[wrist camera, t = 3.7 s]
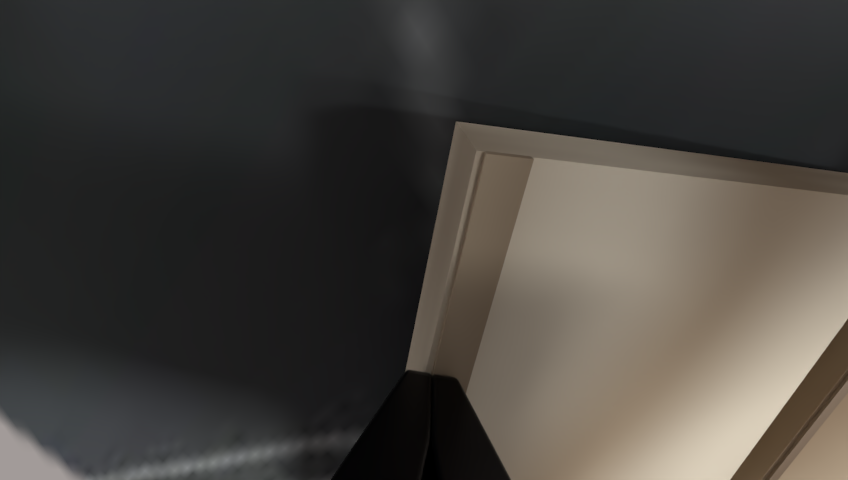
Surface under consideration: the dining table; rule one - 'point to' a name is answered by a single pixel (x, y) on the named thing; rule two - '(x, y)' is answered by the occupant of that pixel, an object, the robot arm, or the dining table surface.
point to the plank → (627, 300)
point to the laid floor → (808, 426)
